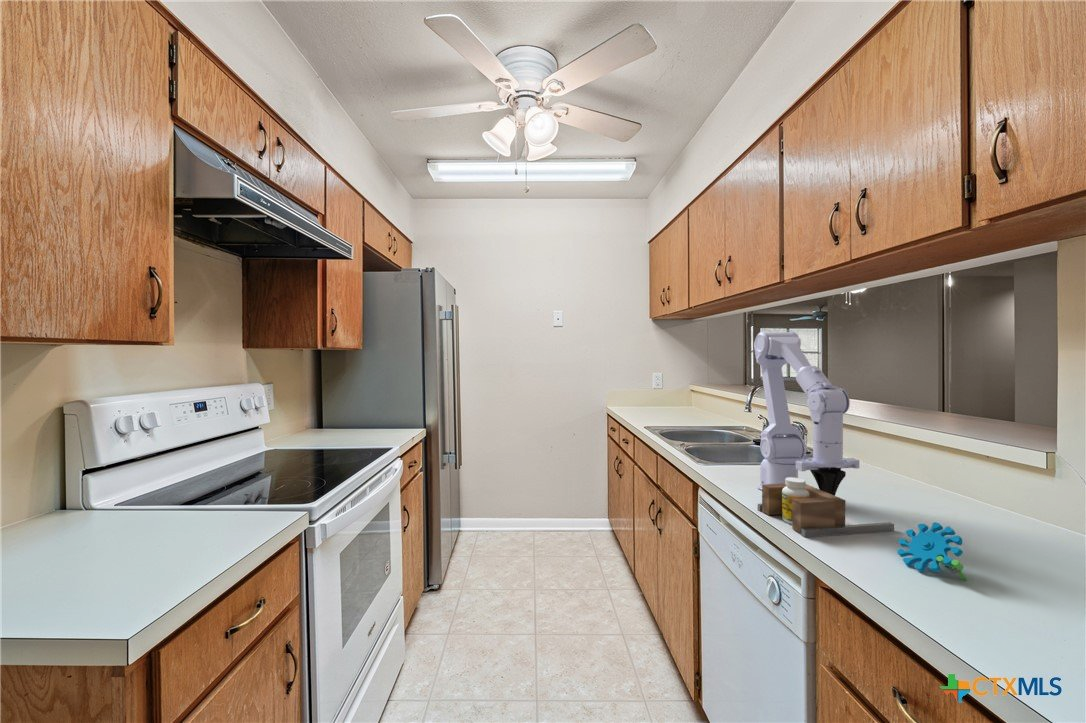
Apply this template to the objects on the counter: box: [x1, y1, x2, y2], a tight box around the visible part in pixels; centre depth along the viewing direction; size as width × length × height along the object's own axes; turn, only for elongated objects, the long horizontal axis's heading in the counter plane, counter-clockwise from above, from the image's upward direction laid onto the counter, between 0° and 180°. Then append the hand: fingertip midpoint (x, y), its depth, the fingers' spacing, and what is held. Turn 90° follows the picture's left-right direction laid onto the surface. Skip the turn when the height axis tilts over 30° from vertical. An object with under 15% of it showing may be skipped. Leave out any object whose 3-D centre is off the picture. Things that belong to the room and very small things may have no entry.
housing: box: [761, 483, 846, 534], centre depth 100 cm, size 13×10×6 cm
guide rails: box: [757, 503, 895, 538], centre depth 101 cm, size 16×21×2 cm
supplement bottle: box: [781, 477, 809, 525], centre depth 100 cm, size 5×5×10 cm
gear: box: [897, 521, 969, 581], centre depth 78 cm, size 11×6×10 cm
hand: (827, 500), depth 101 cm, fingers closed
